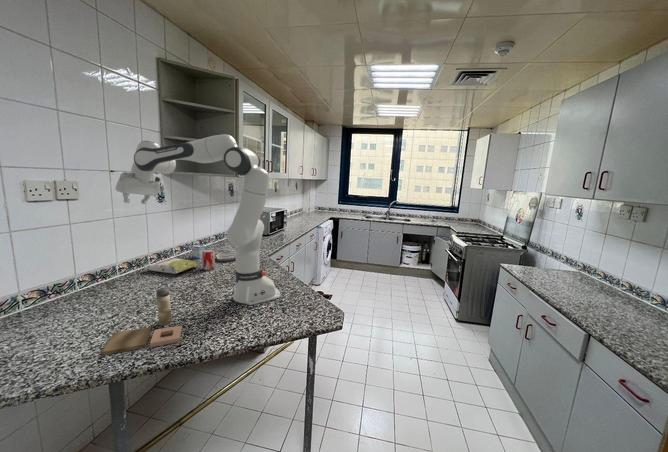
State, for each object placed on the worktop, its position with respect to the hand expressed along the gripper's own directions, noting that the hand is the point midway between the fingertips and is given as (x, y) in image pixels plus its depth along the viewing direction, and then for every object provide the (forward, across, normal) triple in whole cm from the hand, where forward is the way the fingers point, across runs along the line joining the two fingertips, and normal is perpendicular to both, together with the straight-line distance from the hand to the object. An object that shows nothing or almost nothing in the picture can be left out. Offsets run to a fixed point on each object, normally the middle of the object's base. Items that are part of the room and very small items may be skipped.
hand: (135, 203), depth 132 cm
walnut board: (+41, -30, -41) cm, 65 cm away
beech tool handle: (+39, -17, -43) cm, 60 cm away
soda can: (+36, +44, -20) cm, 60 cm away
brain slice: (+33, +68, -19) cm, 77 cm away
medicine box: (+38, +63, +2) cm, 74 cm away
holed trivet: (+38, -25, -51) cm, 69 cm away
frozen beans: (+41, +37, -1) cm, 56 cm away
